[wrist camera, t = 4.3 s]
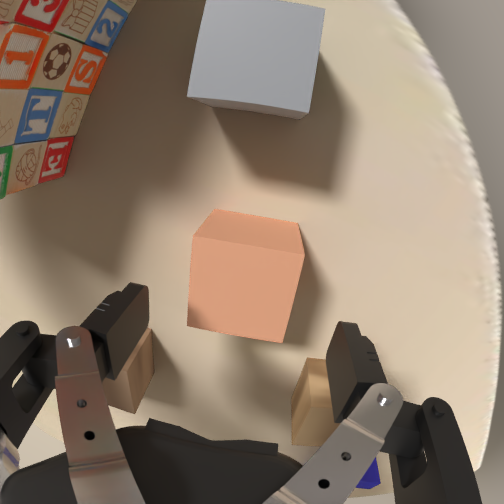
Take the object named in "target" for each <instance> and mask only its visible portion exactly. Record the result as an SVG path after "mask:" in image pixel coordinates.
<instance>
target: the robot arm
mask: <svg viewBox="0 0 504 504" xmlns="http://www.w3.org/2000/svg"><path fill="white" fill-rule="evenodd" d="M148 323H149V290H148V287H147V286H145V285H140V284H136V283H132V282H130V283H129V284H128V285H127V286H126V287H125V288H124V289H123V291H122V292H120V291H116V292H114V293H112V294H110V295H108V296H107V297H106V298H105V299H104V300H103V301H102V303H100V305H99V306H98V307H97V309H95V310H94V311H93V312H92V313H91V314H90V315H89V316H88V317H87V319H86V320H85V321H84V322H83V323H82V324H81V325H80V326H71V327H67V328H64V329H62V330H61V331H60V332H59V333H58V334H57V336H55V335H46V334H40V331H39V328H38V326H37V324H36V323H34V322H32V321H20V322H17V323H15V324H14V325H12V326H11V327H10V328H9V329H8V330H7V331H6V332H5V333H4V334H3V336H2V337H1V338H0V504H343V503H344V502H345V501H346V499H347V498H348V497H349V495H350V494H351V493H352V491H353V490H354V488H355V487H356V486H357V484H358V483H359V481H360V480H361V479H362V477H363V476H364V474H365V473H366V471H367V470H368V468H369V467H370V465H371V464H372V462H373V460H374V459H375V457H376V456H377V454H378V452H379V451H381V452H385V453H389V459H390V465H391V472H392V479H393V487H394V495H395V503H396V504H482V501H481V497H480V493H479V489H478V485H477V482H476V478H475V475H474V471H473V468H472V465H471V462H470V458H469V455H468V452H467V449H466V446H465V443H464V440H463V438H462V435H461V432H460V429H459V427H458V424H457V421H456V419H455V416H454V413H453V411H452V409H451V407H450V405H449V404H448V403H447V402H445V401H444V400H442V399H440V398H436V397H430V398H428V399H426V400H425V401H424V402H423V404H422V405H417V404H413V403H409V402H406V401H403V397H402V395H401V393H400V392H399V391H398V390H397V389H396V388H395V387H393V386H391V385H389V384H388V383H387V380H386V378H385V375H384V372H383V369H382V366H381V363H380V362H379V358H378V355H376V353H377V352H376V350H375V347H374V344H373V343H372V342H371V341H370V340H369V339H368V338H367V337H366V336H361V333H360V330H359V328H358V325H357V324H356V323H349V322H342V321H339V322H338V324H337V326H336V329H335V331H334V334H333V337H332V339H331V342H330V345H329V347H328V350H327V354H326V368H327V375H328V381H329V388H330V395H331V402H332V410H333V417H334V423H341V424H340V425H339V426H338V428H337V429H336V430H335V431H334V432H333V434H332V435H331V436H330V437H329V438H328V439H327V441H326V442H325V443H324V444H323V445H322V446H321V447H320V449H319V450H318V451H317V452H316V453H315V454H314V455H313V456H312V457H311V458H310V459H309V461H308V462H307V463H306V464H305V465H304V466H303V465H301V464H300V463H299V462H297V461H296V460H294V459H292V458H290V457H288V456H286V455H284V454H281V453H278V444H276V443H267V442H259V441H252V440H225V441H212V440H208V439H206V438H204V437H201V436H199V435H197V434H195V433H192V432H190V431H188V430H186V429H184V428H182V427H180V426H176V425H172V424H168V423H165V422H161V421H158V420H154V419H151V418H149V420H148V422H147V425H146V426H129V427H124V428H120V429H117V430H116V429H115V426H114V423H113V420H112V416H111V413H110V410H109V407H108V403H107V400H106V396H105V393H104V389H103V385H102V382H103V380H104V379H105V377H106V378H108V379H111V380H114V381H115V380H116V378H117V376H118V375H119V373H120V371H121V370H122V368H123V366H124V365H125V363H126V361H127V360H128V358H129V357H130V355H131V353H132V352H133V350H134V348H135V347H136V345H137V344H138V342H139V340H140V339H141V337H142V336H143V334H144V332H145V331H146V329H147V326H148ZM21 370H22V372H23V374H22V376H21V377H20V378H19V380H18V381H17V382H16V384H15V385H14V387H13V388H12V384H13V381H14V379H15V378H16V377H17V375H18V374H19V373H20V371H21ZM53 389H56V395H57V402H58V410H59V416H60V422H61V428H62V433H63V439H64V444H65V448H66V452H64V453H61V454H59V455H57V456H54V457H51V458H49V459H46V460H44V461H41V462H39V463H36V464H33V465H30V466H28V467H25V468H22V469H19V460H20V458H19V453H18V450H17V449H18V447H19V446H20V444H21V442H22V440H23V438H24V437H25V435H26V433H27V431H28V430H29V428H30V426H31V425H32V423H33V421H34V420H35V418H36V416H37V415H38V413H39V411H40V410H41V408H42V406H43V405H44V403H45V401H46V400H47V398H48V397H49V395H50V394H51V392H52V390H53ZM424 451H425V453H424ZM425 455H426V457H425ZM426 459H427V461H426Z"/></svg>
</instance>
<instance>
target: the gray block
mask: <svg viewBox="0 0 504 504" xmlns="http://www.w3.org/2000/svg"><path fill="white" fill-rule="evenodd" d="M324 14H325V9H323V8H319V7H314V6H309V5H303V4H298V3H292V2H285V1H278V0H206V4H205V8H204V12H203V16H202V21H201V25H200V30H199V34H198V39H197V44H196V49H195V54H194V59H193V64H192V69H191V75H190V80H189V86H188V92H187V97H189V98H191V99H194V100H196V101H199V102H201V103H204V104H206V105H209V106H211V107H219V108H228V109H236V110H244V111H251V112H258V113H265V114H271V115H277V116H283V117H288V118H293V119H299V120H300V119H301V118H303V117H304V116H306V115H307V114H308V113H309V110H310V104H311V98H312V92H313V86H314V80H315V74H316V67H317V61H318V55H319V48H320V42H321V35H322V28H323V21H324Z"/></svg>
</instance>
